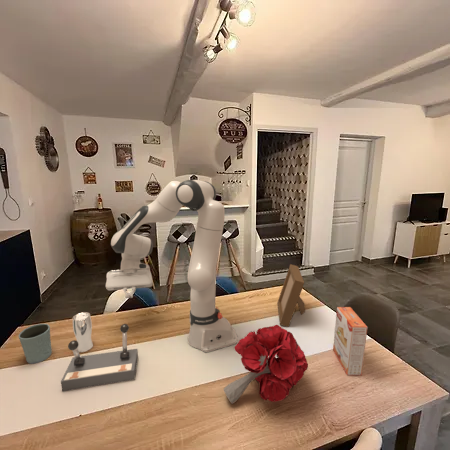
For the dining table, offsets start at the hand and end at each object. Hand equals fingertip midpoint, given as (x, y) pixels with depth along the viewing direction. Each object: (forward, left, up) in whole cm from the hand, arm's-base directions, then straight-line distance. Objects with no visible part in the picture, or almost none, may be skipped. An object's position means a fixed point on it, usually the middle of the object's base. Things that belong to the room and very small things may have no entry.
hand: (129, 297), depth 115 cm
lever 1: (+16, +19, -15) cm, 29 cm away
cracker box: (-86, +35, -20) cm, 95 cm away
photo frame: (-81, -1, -20) cm, 83 cm away
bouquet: (-49, +40, -20) cm, 66 cm away
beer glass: (+19, +3, -20) cm, 28 cm away
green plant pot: (+36, +5, -20) cm, 42 cm away
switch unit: (+8, +20, -20) cm, 29 cm away
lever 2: (0, +20, -15) cm, 25 cm away
